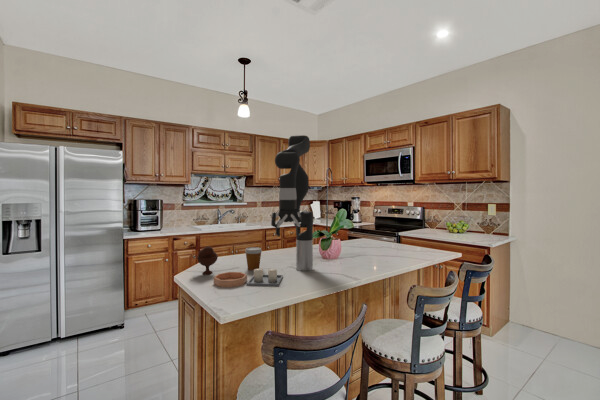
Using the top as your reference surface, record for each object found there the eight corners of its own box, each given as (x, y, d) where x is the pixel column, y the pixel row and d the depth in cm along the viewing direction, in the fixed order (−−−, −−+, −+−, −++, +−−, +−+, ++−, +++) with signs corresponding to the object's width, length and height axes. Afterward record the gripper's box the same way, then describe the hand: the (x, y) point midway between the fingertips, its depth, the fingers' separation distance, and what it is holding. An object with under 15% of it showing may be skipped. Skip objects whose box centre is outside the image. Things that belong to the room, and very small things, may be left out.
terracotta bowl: (221, 278, 152) (221, 271, 152) (249, 279, 151) (249, 272, 151) (210, 287, 137) (210, 280, 137) (241, 288, 136) (241, 280, 136)
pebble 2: (268, 279, 148) (268, 268, 148) (277, 279, 147) (277, 268, 147) (267, 282, 143) (267, 271, 143) (276, 282, 143) (276, 271, 143)
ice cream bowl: (221, 271, 165) (221, 244, 165) (210, 277, 155) (210, 248, 154) (204, 270, 168) (204, 243, 168) (192, 275, 158) (192, 247, 157)
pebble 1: (255, 279, 148) (255, 268, 148) (263, 279, 148) (263, 268, 148) (253, 282, 144) (252, 270, 144) (261, 282, 144) (261, 270, 143)
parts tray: (254, 277, 154) (254, 274, 154) (282, 278, 153) (282, 275, 153) (246, 286, 139) (246, 283, 139) (278, 287, 138) (278, 284, 138)
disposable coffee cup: (259, 272, 164) (259, 250, 164) (242, 271, 166) (242, 250, 165) (263, 267, 174) (263, 247, 173) (248, 267, 175) (248, 246, 175)
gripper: (300, 198, 135) (300, 233, 135) (269, 198, 130) (270, 235, 131) (306, 198, 128) (306, 236, 128) (273, 199, 123) (273, 238, 124)
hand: (288, 235), depth 130 cm, fingers open, 8 cm apart
